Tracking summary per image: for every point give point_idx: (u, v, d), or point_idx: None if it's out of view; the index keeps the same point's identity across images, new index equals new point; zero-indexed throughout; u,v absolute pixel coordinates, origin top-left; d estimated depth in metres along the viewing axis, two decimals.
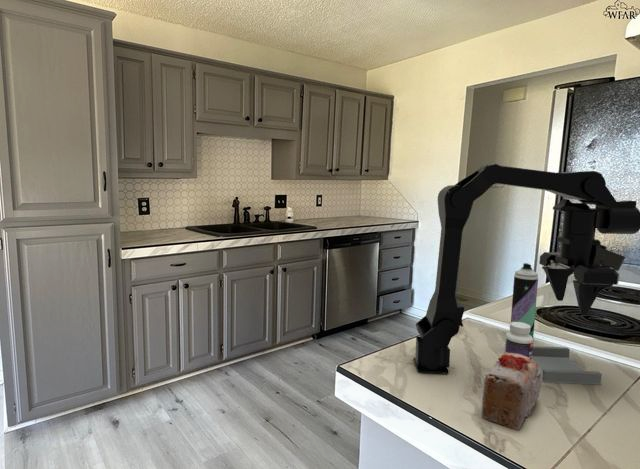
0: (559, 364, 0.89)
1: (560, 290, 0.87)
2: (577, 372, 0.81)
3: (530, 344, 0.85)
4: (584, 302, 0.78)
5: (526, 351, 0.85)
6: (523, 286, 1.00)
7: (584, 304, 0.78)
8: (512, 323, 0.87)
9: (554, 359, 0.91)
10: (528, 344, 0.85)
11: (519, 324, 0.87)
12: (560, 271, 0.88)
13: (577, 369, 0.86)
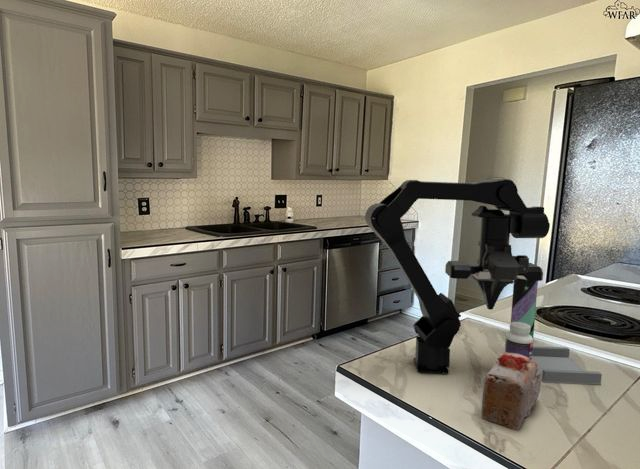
0: (559, 364, 0.89)
1: None
2: (577, 372, 0.81)
3: (530, 344, 0.85)
4: (485, 296, 0.87)
5: (526, 351, 0.85)
6: (522, 286, 1.00)
7: (484, 298, 0.87)
8: (512, 323, 0.87)
9: (554, 359, 0.91)
10: (528, 344, 0.85)
11: (519, 324, 0.87)
12: (494, 280, 0.86)
13: (577, 369, 0.86)
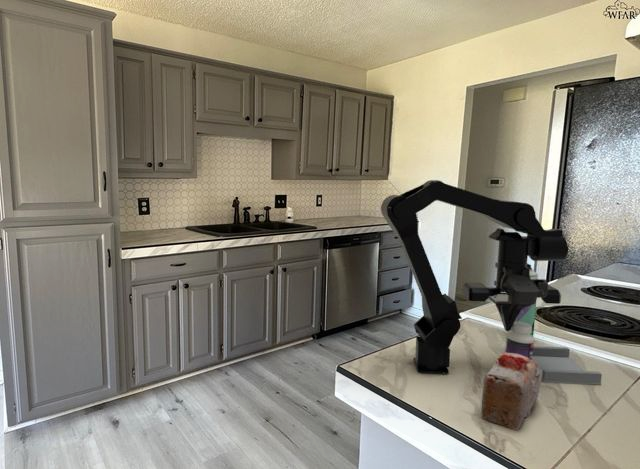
0: (559, 364, 0.89)
1: None
2: (577, 372, 0.81)
3: (531, 344, 0.85)
4: (502, 318, 0.87)
5: (527, 350, 0.85)
6: None
7: (502, 319, 0.87)
8: None
9: (554, 359, 0.91)
10: (529, 344, 0.85)
11: (521, 324, 0.87)
12: (511, 301, 0.86)
13: (577, 369, 0.86)
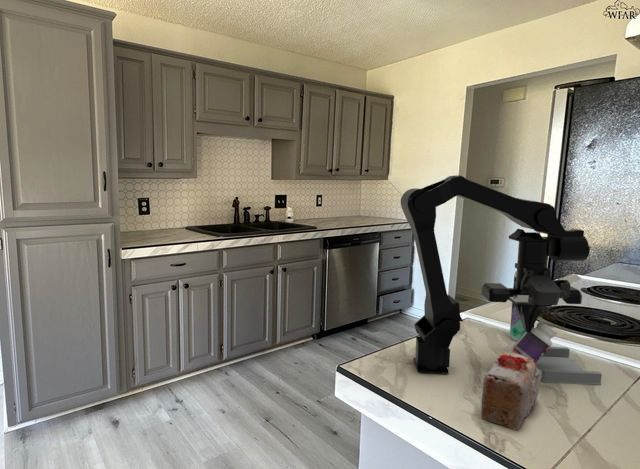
0: (559, 364, 0.89)
1: None
2: (577, 372, 0.81)
3: (548, 346, 0.85)
4: (522, 319, 0.87)
5: (541, 349, 0.84)
6: None
7: (522, 320, 0.87)
8: None
9: (554, 359, 0.91)
10: (547, 345, 0.84)
11: None
12: (532, 302, 0.86)
13: (577, 369, 0.86)
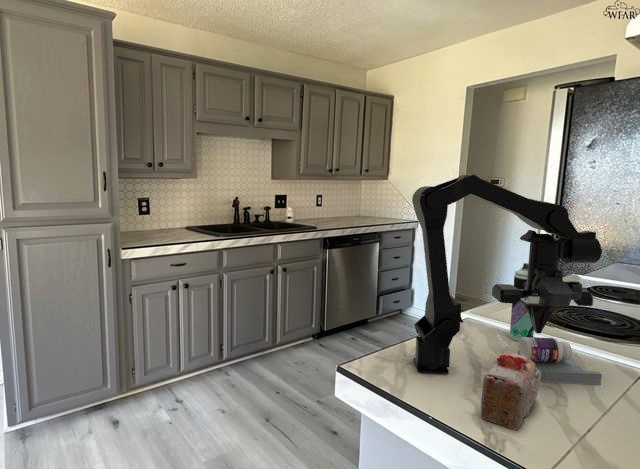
0: (559, 364, 0.89)
1: None
2: (577, 372, 0.81)
3: (557, 350, 0.87)
4: (532, 320, 0.87)
5: (549, 345, 0.88)
6: (523, 286, 1.00)
7: (532, 321, 0.87)
8: None
9: None
10: (556, 347, 0.87)
11: None
12: (542, 304, 0.86)
13: (577, 369, 0.86)
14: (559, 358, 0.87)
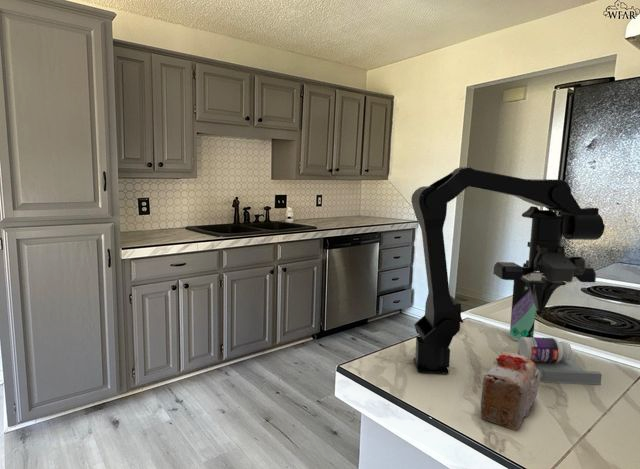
0: (559, 364, 0.89)
1: None
2: (577, 372, 0.81)
3: (557, 350, 0.87)
4: (534, 298, 0.86)
5: (549, 345, 0.88)
6: (522, 286, 1.00)
7: (534, 299, 0.86)
8: None
9: None
10: (556, 347, 0.87)
11: None
12: (545, 281, 0.85)
13: (577, 369, 0.86)
14: (559, 358, 0.87)
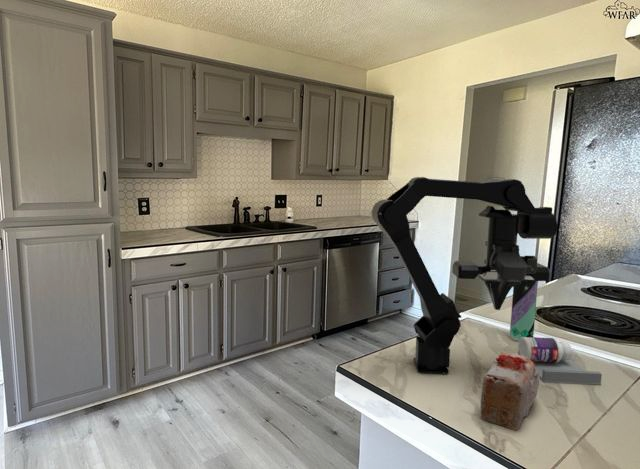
0: (559, 364, 0.89)
1: None
2: (577, 372, 0.81)
3: (557, 350, 0.87)
4: (492, 297, 0.87)
5: (549, 345, 0.88)
6: (522, 286, 1.00)
7: (491, 298, 0.87)
8: None
9: None
10: (556, 347, 0.87)
11: None
12: (501, 280, 0.86)
13: (577, 369, 0.86)
14: (559, 358, 0.87)
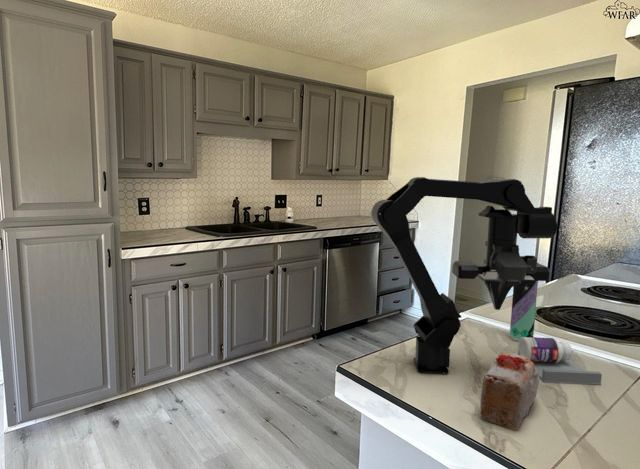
0: (559, 364, 0.89)
1: None
2: (577, 372, 0.81)
3: (557, 350, 0.87)
4: (492, 297, 0.87)
5: (549, 345, 0.88)
6: (522, 286, 1.00)
7: (491, 298, 0.87)
8: None
9: None
10: (556, 347, 0.87)
11: None
12: (501, 280, 0.86)
13: (577, 369, 0.86)
14: (559, 358, 0.87)
